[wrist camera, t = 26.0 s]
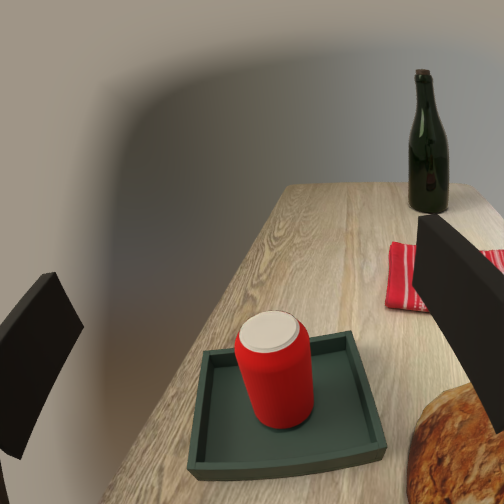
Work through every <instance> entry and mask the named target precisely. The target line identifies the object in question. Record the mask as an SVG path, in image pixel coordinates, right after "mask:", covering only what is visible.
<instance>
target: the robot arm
mask: <svg viewBox="0 0 504 504" xmlns="http://www.w3.org/2000/svg"><path fill="white" fill-rule="evenodd" d="M412 286H413V288H414V289H415V291H416V292H417V294H418V295H419V297H420V298H421V300H422V301H423V303H424V304H425V306H426V307H427V309H428V310H429V312H430V314H431V315H432V317H433V318H434V320H435V321H436V323H437V325H438V326H439V328H440V330H441V331H442V333H443V334H444V336H445V338H446V339H447V341H448V343H449V344H450V346H451V348H452V350H453V351H454V353H455V355H456V357H457V358H458V360H459V362H460V364H461V365H462V367H463V369H464V371H465V373H466V374H467V376H468V378H469V380H470V382H471V384H472V386H473V388H474V389H475V391H476V393H477V395H478V397H479V399H480V401H481V403H482V405H483V407H484V409H485V411H486V413H487V415H488V418H489V420H490V422H491V424H492V426H493V428H494V431H495V433H496V435H497V434H499V433H500V432H502V431H504V274H503V273H502V272H501V271H500V270H499V269H498V268H497V267H496V266H495V265H494V264H493V263H492V262H491V261H490V260H489V259H488V258H486V257H485V256H484V255H483V254H482V253H481V252H480V251H479V250H478V249H477V248H476V247H475V246H474V245H473V244H471V243H470V242H469V241H468V240H467V239H466V238H465V237H464V236H462V235H461V234H460V233H459V232H458V231H457V230H456V229H454V228H453V227H452V226H451V225H450V224H449V223H447V222H446V221H445V220H444V219H443V218H441V217H440V216H439V215H438V214H432V215H425V216H418V230H417V242H416V253H415V262H414V271H413V279H412ZM83 328H84V326H83V324H82V322H81V321H80V319H79V317H78V315H77V314H76V312H75V310H74V308H73V306H72V304H71V302H70V300H69V298H68V297H67V295H66V293H65V291H64V289H63V287H62V285H61V283H60V281H59V279H58V276H57V274H56V272H52V273H46V274H42V275H41V276H40V277H39V279H38V280H37V281H36V282H35V283H34V284H33V285H32V287H31V288H30V289H29V290H28V291H27V293H26V294H25V295H24V296H23V297H22V299H21V300H20V301H19V302H18V304H17V305H16V306H15V307H14V309H13V310H12V311H11V312H10V313H9V315H8V316H7V317H6V319H5V320H4V321H3V322H2V324H1V325H0V449H1V450H2V451H4V452H5V453H6V454H7V455H10V456H12V457H15V458H17V459H19V460H21V458H22V455H23V452H24V450H25V448H26V445H27V443H28V440H29V438H30V435H31V433H32V431H33V428H34V426H35V424H36V421H37V419H38V417H39V415H40V412H41V410H42V408H43V406H44V404H45V402H46V399H47V397H48V395H49V393H50V391H51V389H52V387H53V385H54V383H55V381H56V379H57V377H58V375H59V373H60V371H61V369H62V367H63V365H64V363H65V361H66V359H67V357H68V355H69V354H70V352H71V350H72V348H73V346H74V344H75V342H76V341H77V339H78V337H79V335H80V333H81V331H82V330H83ZM0 504H9V500H8V496H7V491H6V487H5V483H4V478H3V473H2V467H1V462H0Z"/></svg>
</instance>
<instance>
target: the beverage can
mask: <svg viewBox="0 0 504 504" xmlns="http://www.w3.org/2000/svg"><path fill="white" fill-rule="evenodd" d="M235 356H236V359H237V362H238V365H239V368H240V371H241V374H242V377H243V380H244V383H245V386H246V389H247V392H248V395H249V398H250V401H251V404H252V407H253V410H254V412H255V415H256V417H257V418H258V419H259V421H261V422H262V423H263V424H265V425H266V426H269V427H272V428H276V429H286V428H291V427H294V426H296V425H298V424H300V423H302V422H303V421H304V420H305V419H306V418H307V417H308V416H309V415H310V413H311V411H312V409H313V405H314V394H313V379H312V364H311V351H310V340H309V335H308V332H307V330H306V329H305V327H304V326H303V325H302V323H301V322H299V321H298V320H297V319H296V318H295V317H294V316H293V315H291V314H289V313H287V312H283V311H274V310H273V311H265V312H261V313H258V314H256V315H254V316H252V317H251V318H249V319H248V320H247V321H246V322H245V323H244V324H243V325H242V327H241V328H240V331H239V333H238V335H237V337H236V340H235Z"/></svg>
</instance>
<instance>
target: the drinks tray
mask: <svg viewBox="0 0 504 504" xmlns="http://www.w3.org/2000/svg"><path fill="white" fill-rule="evenodd" d="M309 340H310V351H311V364H312V379H313V394H314V405H313V409H312V411H311V413H310V415H309V416H308V417H307V418H306V419H305V420H304V421H303V422H302V423H300V424H298V425H296V426H294V427H291V428H286V429H276V428H272V427H269V426H266V425H265V424H263V423H262V422H261V421H259V419H258V418H257V417H256V415H255V412H254V410H253V407H252V404H251V401H250V398H249V395H248V392H247V389H246V386H245V383H244V380H243V377H242V374H241V371H240V368H239V365H238V362H237V359H236V356H235V348H229V349H220V350H209V351H203V357H202V364H201V370H200V377H199V384H198V390H197V397H196V404H195V411H194V418H193V425H192V432H191V440H190V447H189V455H188V463H187V470H188V471H189V472H190V473H191V474H192V475H193V476H194V477H195V478H196V479H197V480H204V481H235V480H259V479H272V478H283V477H293V476H301V475H308V474H315V473H322V472H328V471H333V470H339V469H344V468H349V467H353V466H358V465H362V464H367V463H371V462H375V461H379V460H382V458H383V456H384V453H385V451H386V449H387V443H386V439H385V436H384V432H383V429H382V425H381V422H380V418H379V415H378V412H377V408H376V405H375V402H374V398H373V395H372V392H371V389H370V385H369V382H368V379H367V376H366V373H365V370H364V367H363V364H362V361H361V358H360V355H359V352H358V349H357V346H356V343H355V340H354V337H353V334H352V331H351V330H350V331H345V332H340V333H334V334H329V335H323V336H317V337H311V338H309Z"/></svg>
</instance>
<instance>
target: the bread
mask: <svg viewBox="0 0 504 504" xmlns="http://www.w3.org/2000/svg"><path fill="white" fill-rule="evenodd" d="M407 497H408V502H409V504H504V431H502V432H500V433H499V434H497V435H496V433H495V431H494V428H493V426H492V424H491V422H490V420H489V418H488V415H487V413H486V411H485V409H484V407H483V405H482V403H481V401H480V399H479V397H478V395H477V393H476V391H475V389H474V388H473V386H472V384H471V382H470V383H467V384H465V385H462V386H459V387H456V388H453V389H450V390H447V391H443V392H442V393H441V394H440V395H439V396H438V397H436V398H435V399H434V400H433V401H432V402H431V403H430V404H429V405H427V406H426V407H425V409H424V410H423V413H422V415H421V417H420V419H419V421H418V423H417V424H416V428H415V432H414V436H413V440H412V443H411V447H410V453H409V460H408V467H407Z"/></svg>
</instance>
